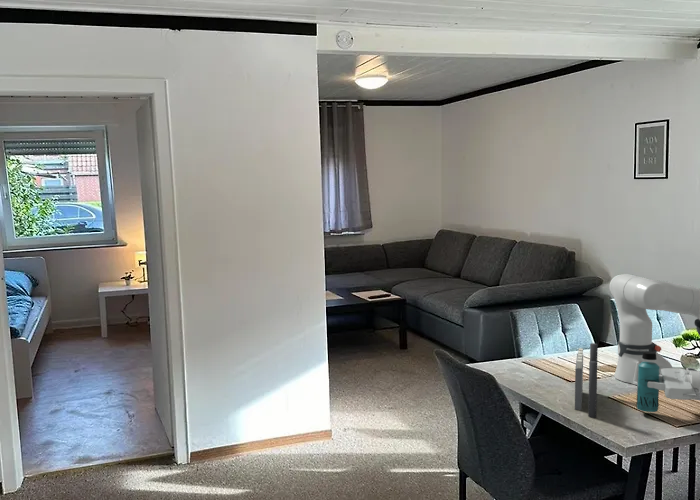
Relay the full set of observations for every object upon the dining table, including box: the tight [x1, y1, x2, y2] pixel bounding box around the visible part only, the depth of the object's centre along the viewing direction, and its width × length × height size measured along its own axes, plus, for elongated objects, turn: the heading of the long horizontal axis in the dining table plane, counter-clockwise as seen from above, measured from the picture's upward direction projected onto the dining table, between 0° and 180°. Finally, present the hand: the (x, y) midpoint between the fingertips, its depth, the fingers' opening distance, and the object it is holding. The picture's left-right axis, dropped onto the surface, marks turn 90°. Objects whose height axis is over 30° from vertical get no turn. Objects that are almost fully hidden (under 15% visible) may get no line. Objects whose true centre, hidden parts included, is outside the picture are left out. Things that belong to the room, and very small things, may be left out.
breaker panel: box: [574, 347, 584, 411], centre depth 214 cm, size 2×18×16 cm, turn 158°
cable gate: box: [587, 342, 599, 419], centre depth 210 cm, size 2×24×18 cm, turn 158°
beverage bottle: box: [636, 352, 660, 413], centre depth 201 cm, size 6×7×20 cm
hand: (646, 381), depth 200 cm, fingers closed on beverage bottle, 4 cm apart
